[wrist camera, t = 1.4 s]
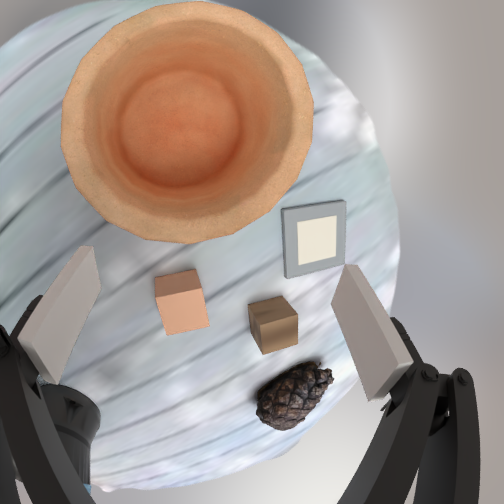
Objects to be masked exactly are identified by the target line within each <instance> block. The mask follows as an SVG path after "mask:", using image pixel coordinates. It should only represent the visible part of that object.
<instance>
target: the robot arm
mask: <svg viewBox="0 0 504 504" xmlns="http://www.w3.org/2000/svg"><path fill="white" fill-rule="evenodd" d="M101 289H102V288H101V283H100V279H99V274H98V270H97V265H96V260H95V254H94V249H93V246H83V245H81V246H80V247H79V248H78V250H77V251H76V252H75V253H74V255H73V256H72V257H71V259H70V260H69V261H68V263H67V264H66V265H65V266H64V268H63V269H62V270H61V272H60V273H59V275H58V276H57V277H56V279H55V280H54V281H53V283H52V284H51V286H50V287H49V289H48V290H47V291H46V293H45V294H44V296H43V295H39V296H37V297H36V298H35V299H34V300H32V301H31V303H30V304H29V306H28V307H27V309H26V311H25V312H24V313H23V315H22V317H21V318H20V320H19V321H18V323H17V324H16V326H15V328H14V329H13V331H12V333H11V334H10V336H9V335H8V334H7V332H6V330H5V328H4V327H3V326H2V325H0V504H21V502H20V499H19V495H18V491H17V486H16V482H15V479H17V480H19V481H21V482H23V484H24V486H25V489H26V491H27V493H28V495H29V497H30V499H31V501H32V503H33V504H96V503H95V502H94V500H93V499H92V497H91V496H90V490H91V485H90V447H91V443H92V441H93V439H94V437H95V435H96V432H97V430H98V429H99V427H100V412H99V410H98V408H97V406H96V405H95V404H94V403H93V402H92V401H91V400H90V399H89V398H87V397H86V396H84V395H83V394H81V393H79V392H77V391H75V390H73V389H71V388H68V387H65V386H61V385H58V384H59V381H60V379H61V376H62V373H63V371H64V368H65V366H66V364H67V361H68V359H69V356H70V354H71V352H72V349H73V347H74V345H75V342H76V340H77V338H78V336H79V334H80V331H81V329H82V327H83V325H84V323H85V321H86V319H87V317H88V315H89V313H90V311H91V309H92V307H93V305H94V303H95V301H96V299H97V297H98V295H99V293H100V291H101ZM331 306H332V308H333V310H334V313H335V315H336V318H337V320H338V323H339V325H340V328H341V330H342V333H343V335H344V338H345V340H346V343H347V345H348V348H349V350H350V353H351V356H352V358H353V361H354V363H355V366H356V369H357V371H358V374H359V377H360V379H361V382H362V385H363V388H364V390H365V393H366V396H367V399H368V402H371V401H377V400H382V399H383V398H384V397H385V396H386V395H387V394H388V393H390V395H391V399H390V400H389V401H388V402H387V403H386V404H385V405H384V407H383V408H382V409H381V411H383V410H384V409H385V408H386V409H385V412H384V414H383V416H382V419H381V421H380V424H379V426H378V428H377V430H376V433H375V435H374V437H373V439H372V442H371V443H370V446H369V448H368V450H367V452H366V454H365V456H364V458H363V460H362V461H361V464H360V465H359V467H358V469H357V471H356V473H355V475H354V476H353V478H352V480H351V482H350V483H349V485H348V487H347V489H346V490H345V492H344V493H343V495H342V497H341V498H340V500H339V501H338V503H337V504H404V502H405V500H406V498H407V495H408V493H409V491H410V488H411V486H412V483H413V480H414V478H415V475H416V473H417V470H418V467H419V470H418V478H417V484H416V491H415V496H414V502H413V504H478V499H479V486H480V435H479V422H478V411H477V403H476V396H475V389H474V382H473V379H472V377H471V375H470V373H469V372H468V371H467V370H465V369H463V368H457V369H455V370H454V371H453V373H452V374H451V375H447V374H439V372H438V370H437V369H436V368H435V367H433V366H432V365H430V364H426V363H424V362H423V361H422V359H421V357H420V355H419V353H418V352H417V350H416V348H415V346H414V345H413V343H412V341H410V337H409V336H408V334H407V332H406V330H405V329H404V327H403V325H402V324H401V323H400V322H399V321H398V320H397V319H396V318H395V317H390V318H389V316H388V314H387V312H386V311H385V309H384V307H383V306H382V304H381V302H380V301H379V299H378V297H377V296H376V294H375V292H374V291H373V289H372V287H371V286H370V284H369V282H368V281H367V279H366V278H365V276H364V275H363V273H362V271H361V270H360V268H359V267H358V265H348V264H345V266H344V269H343V272H342V275H341V278H340V280H339V283H338V286H337V289H336V291H335V294H334V297H333V299H332V302H331ZM38 374H40V375H41V377H42V378H43V380H44V381H46V382H49V383H52V384H49V385H43V386H41V387H40V385H39V382H38V381H37V377H38ZM54 384H55V385H54ZM448 411H449V416H448Z"/></svg>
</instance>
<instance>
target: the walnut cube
mask: <svg viewBox="0 0 504 504" xmlns="http://www.w3.org/2000/svg"><path fill="white" fill-rule="evenodd" d="M248 312H249V320H250V328H251V334H252V336H253V338H254V340H255V341H256V343H257V345H258V347H259V349H260V351H261V352H262V354H263V355H264V354H267V353H271V352H274V351H277V350H281V349H284V348H287V347H290V346H293V345H296V344H298V314H297V313H296V311H295V310H294V309H293V308H292V307H291V305H290V304H289V303H288V302H287V301H286V299H285V298H284V297H283V296H279V297H275V298H272V299H268V300H264V301H260V302H256V303H252V304H248Z"/></svg>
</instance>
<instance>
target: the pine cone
mask: <svg viewBox="0 0 504 504" xmlns="http://www.w3.org/2000/svg"><path fill="white" fill-rule="evenodd" d="M320 364H321V362H320V363H319V365H320ZM317 368H318V366H317V365H316V364H315V362H305V363H301V364H298V365H296V366H294V367H292V368H291V369H289V370H287V371H286V372H284V373H282V374H281V375H279V376H278V377H277V378H275V379H274V380H272V381H271V382H269V383H268V384H266V385H265V386H264V387H262V388H261V389H260V390H259V391H258V401H259V402H258V404H257V406H258V407H257V410H256V415H257V416H258V417H259V418H260V420H261V421H262V423H264V424H267V425H269V426H271V427H273V428H275V429H277V430H281V431H284V430H288V429H291V428H293V427H295V426H296V425H297V424H298V423H300V422H302V421H304V420H305V417H306V416H307V415H308V414H309V412H311V411H312V409H314V408H315V406H316V404H317V403H319V402H320V399H321V398H322V395H323V394H324V392H325V390H327V387H328V385H329V384H332V383H333V380H334V378H333V377H332V373H331V372H332V370H331V369H328V368H327V369H325V370H322V369H317Z"/></svg>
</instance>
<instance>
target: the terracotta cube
mask: <svg viewBox="0 0 504 504" xmlns="http://www.w3.org/2000/svg"><path fill="white" fill-rule="evenodd" d="M155 299H156V302H157V305H158V309H159V312H160V315H161V319H162V322H163V325H164V328H165V331H166V334H167V335H172V334H177V333H182V332H186V331H191V330H195V329H200V328H204V327H208V326H210V325H209V320H208V315H207V311H206V306H205V301H204V296H203V291H202V287H201V284H200V281H199V278H198V275H197V272H196V269H193V270H189V271H184V272H179V273H174V274H170V275H165V276H160V277H155Z"/></svg>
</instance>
